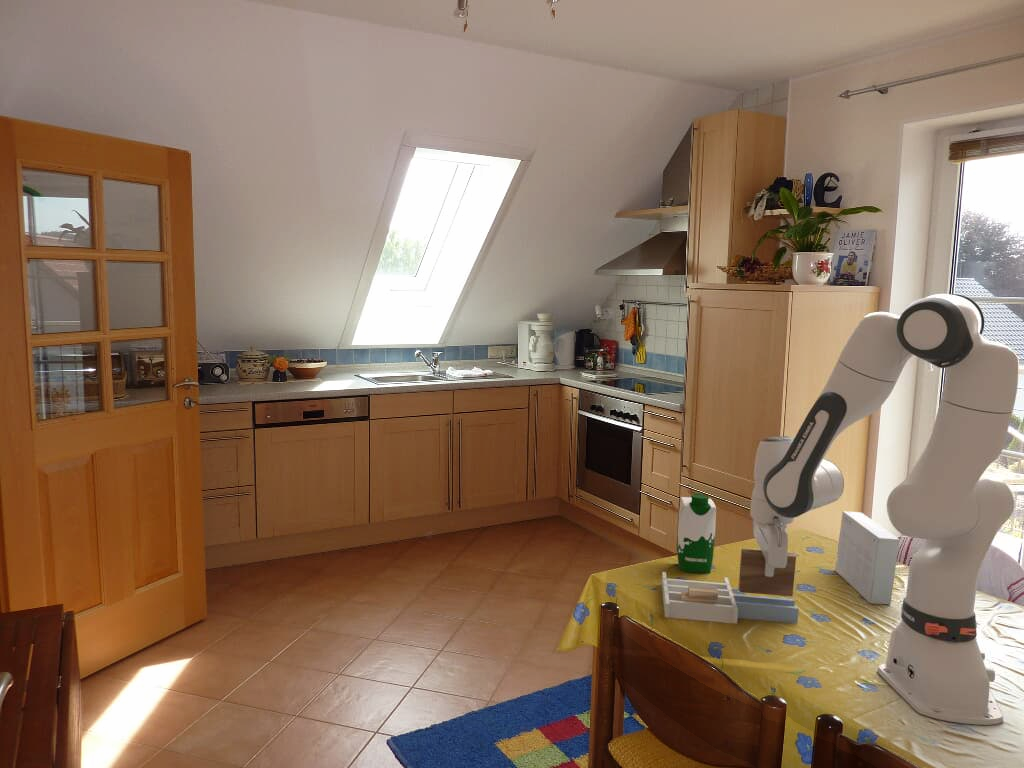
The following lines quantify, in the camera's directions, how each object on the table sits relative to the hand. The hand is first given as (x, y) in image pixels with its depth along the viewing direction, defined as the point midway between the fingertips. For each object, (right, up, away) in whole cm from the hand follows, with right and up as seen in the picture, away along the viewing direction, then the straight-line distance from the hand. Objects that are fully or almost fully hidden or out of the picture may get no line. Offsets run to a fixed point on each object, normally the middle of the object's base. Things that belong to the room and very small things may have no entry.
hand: (767, 572), depth 168 cm
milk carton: (-9, -7, +28) cm, 30 cm away
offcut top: (-14, -5, +1) cm, 15 cm away
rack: (-14, -9, +6) cm, 18 cm away
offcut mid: (-15, -7, +1) cm, 16 cm away
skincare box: (+30, -9, +21) cm, 38 cm away
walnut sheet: (0, -5, +1) cm, 5 cm away
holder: (0, -10, +1) cm, 11 cm away
